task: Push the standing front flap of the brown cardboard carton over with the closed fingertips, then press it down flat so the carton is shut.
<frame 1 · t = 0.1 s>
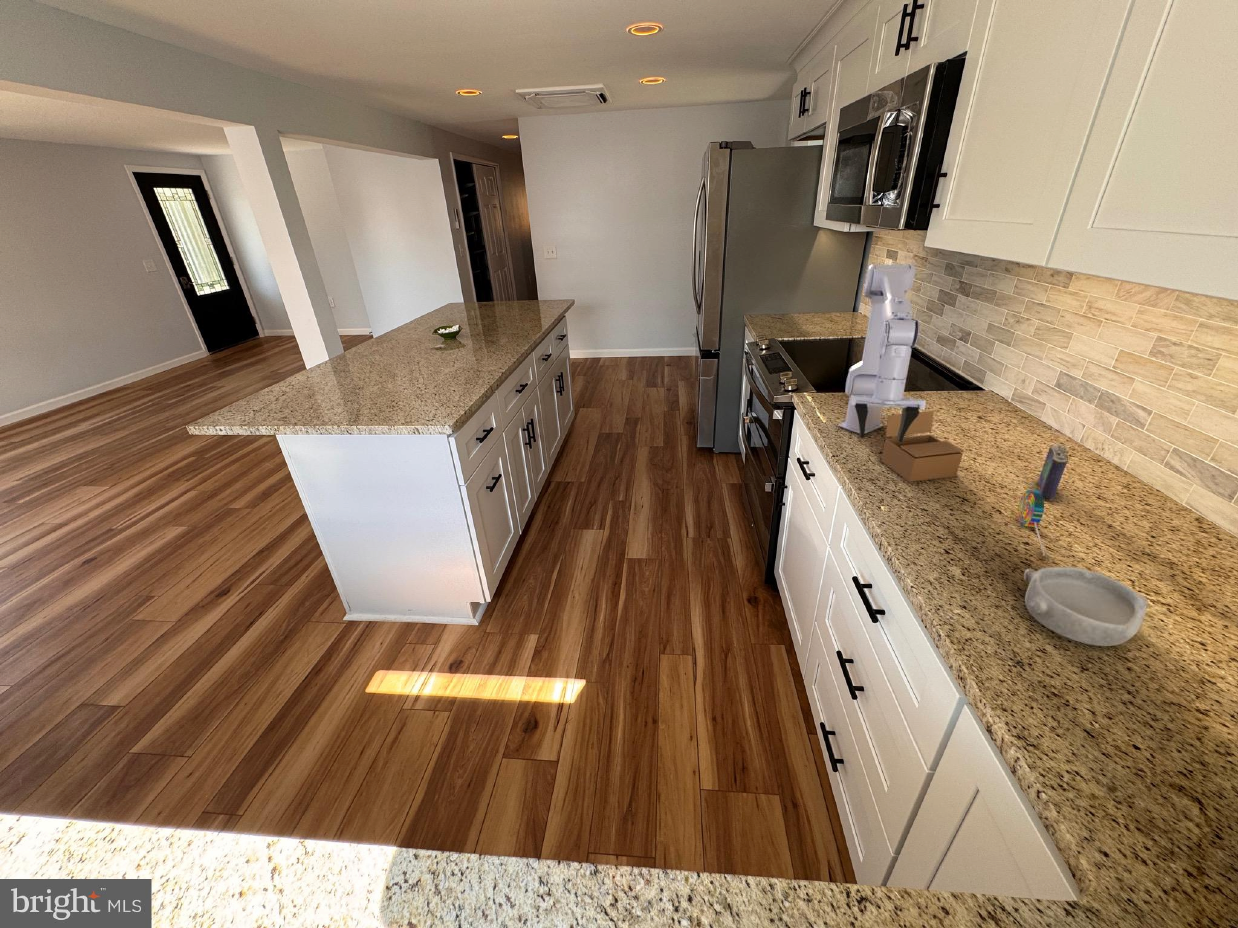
hand: (880, 438, 113), 10 cm above the countertop, tool pointing down, fingers open, 7 cm apart
lollipop: (1030, 534, 97), on the countertop
carton: (917, 468, 122), on the countertop
flap: (909, 423, 123), point 9 cm above the countertop, hinge at 100.0°
dish: (1072, 617, 79), on the countertop
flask: (1045, 491, 111), on the countertop
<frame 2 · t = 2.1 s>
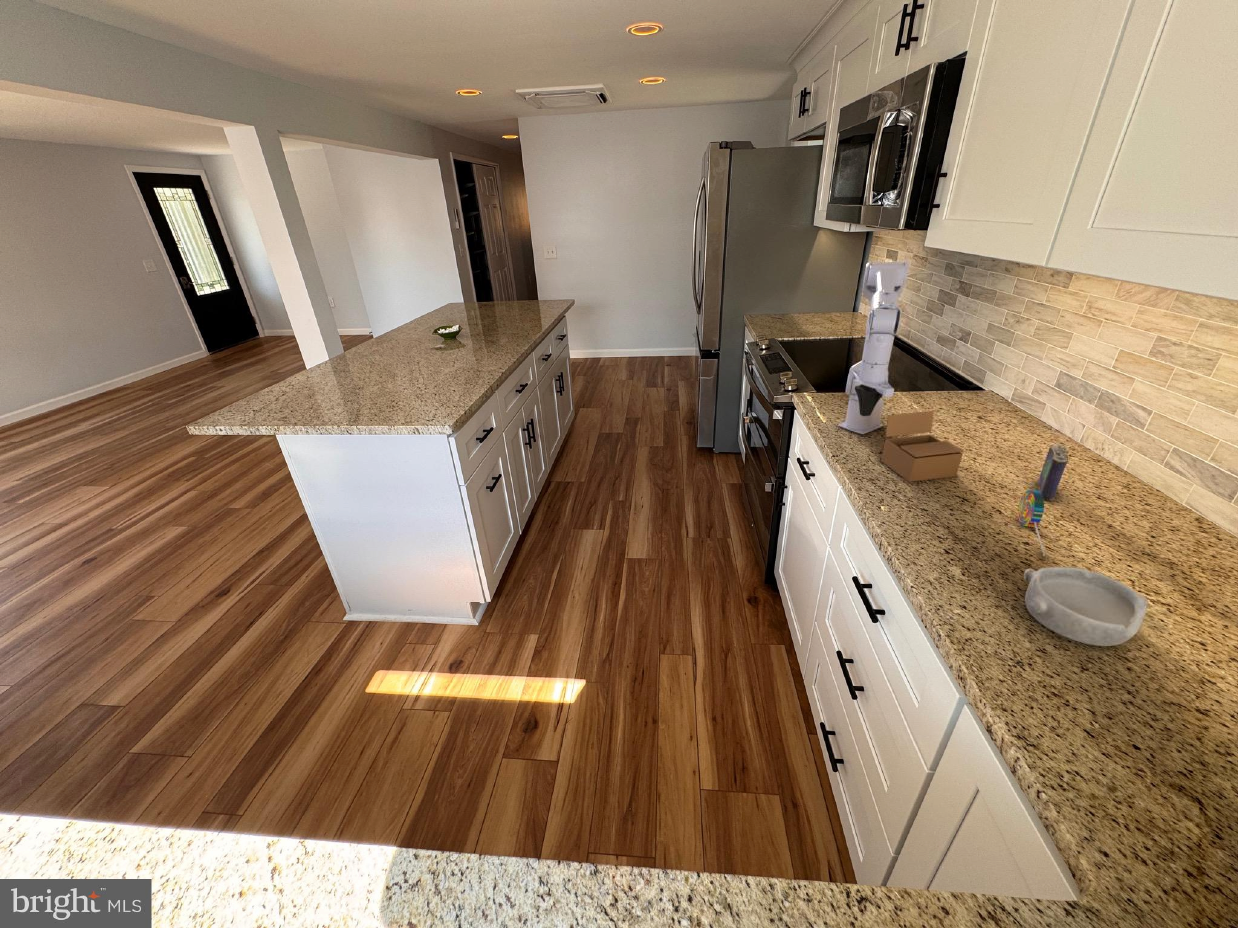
hand: (865, 415, 126), 10 cm above the countertop, tool pointing down, fingers closed
nothing on the countertop moved.
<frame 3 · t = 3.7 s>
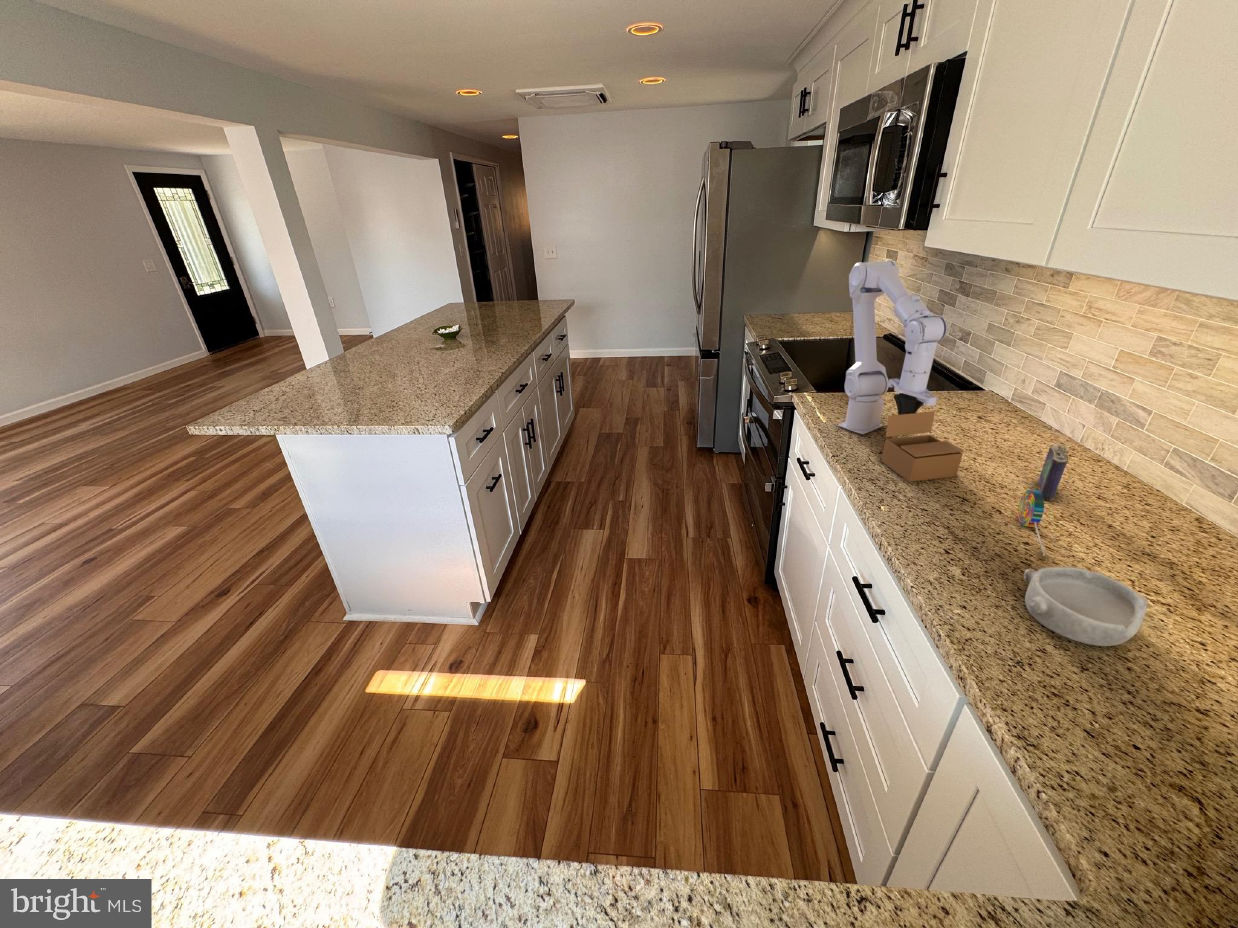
hand: (903, 423, 125), 8 cm above the countertop, tool pointing down, fingers closed
flap: (910, 424, 123), point 9 cm above the countertop, hinge at 96.0°, touching gripper
everything else where it was.
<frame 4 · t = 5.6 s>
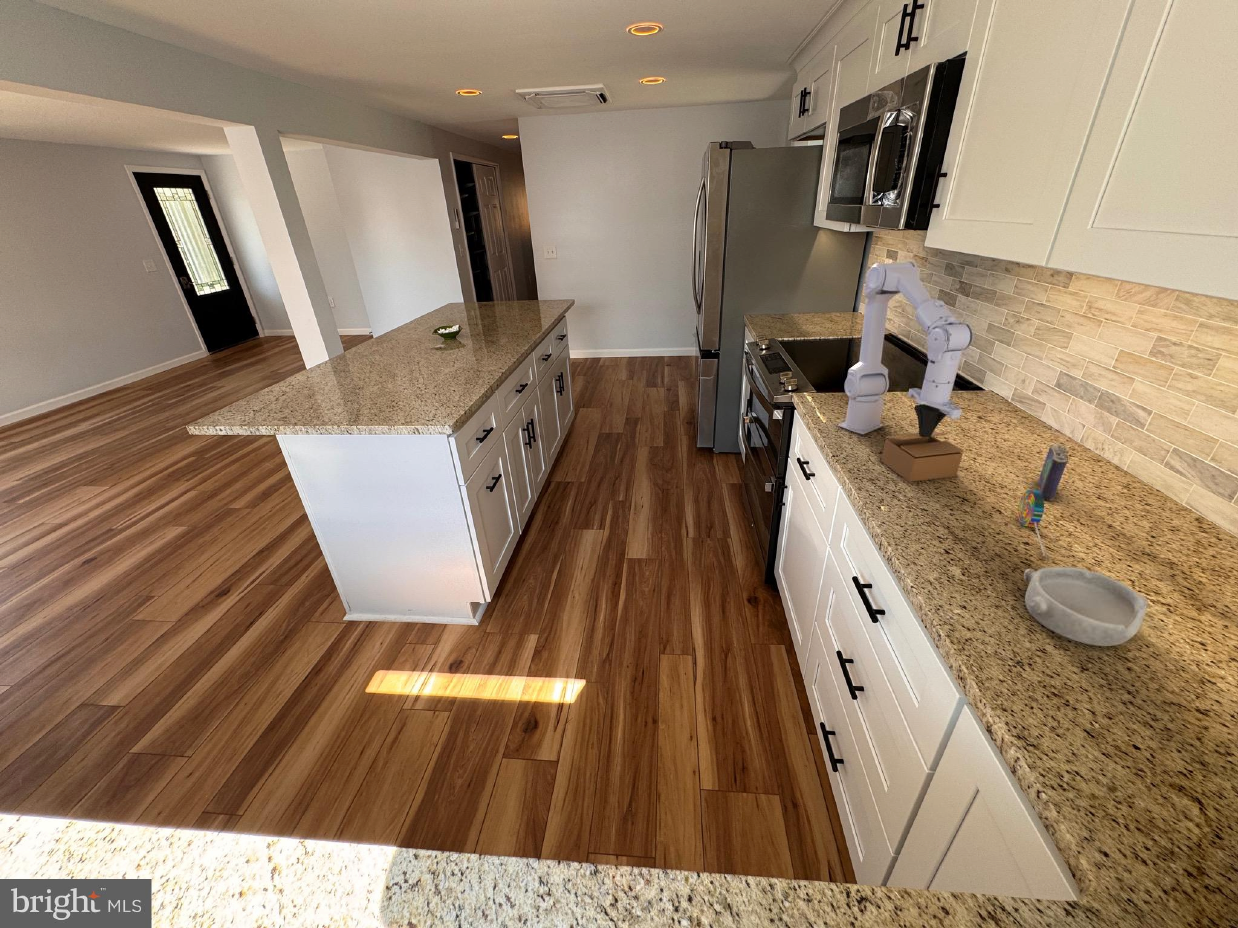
hand: (924, 436, 118), 8 cm above the countertop, tool pointing down, fingers closed
flap: (916, 435, 121), point 7 cm above the countertop, hinge at 19.1°
everything else where it was.
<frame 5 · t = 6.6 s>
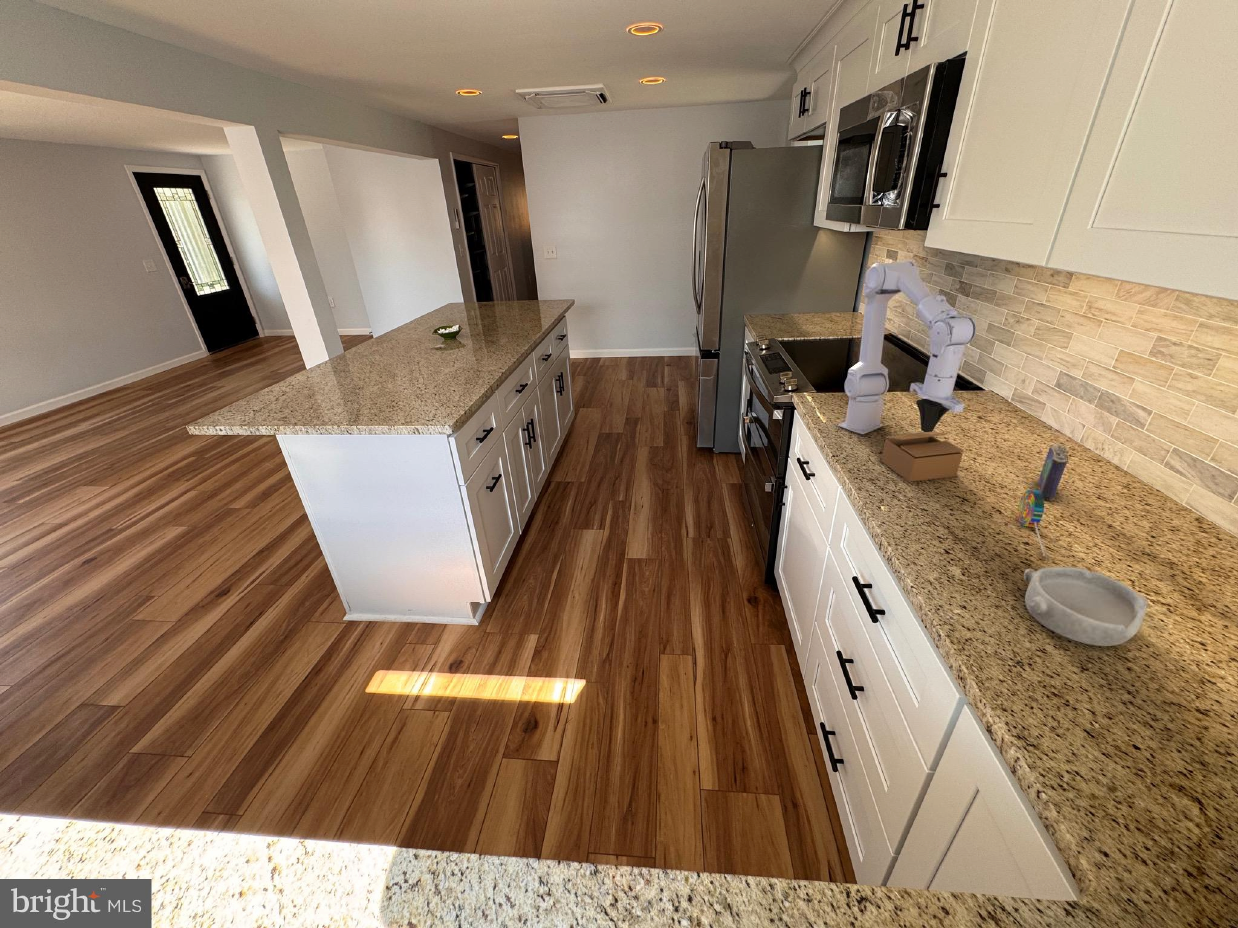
hand: (926, 430, 117), 10 cm above the countertop, tool pointing down, fingers closed
nothing on the countertop moved.
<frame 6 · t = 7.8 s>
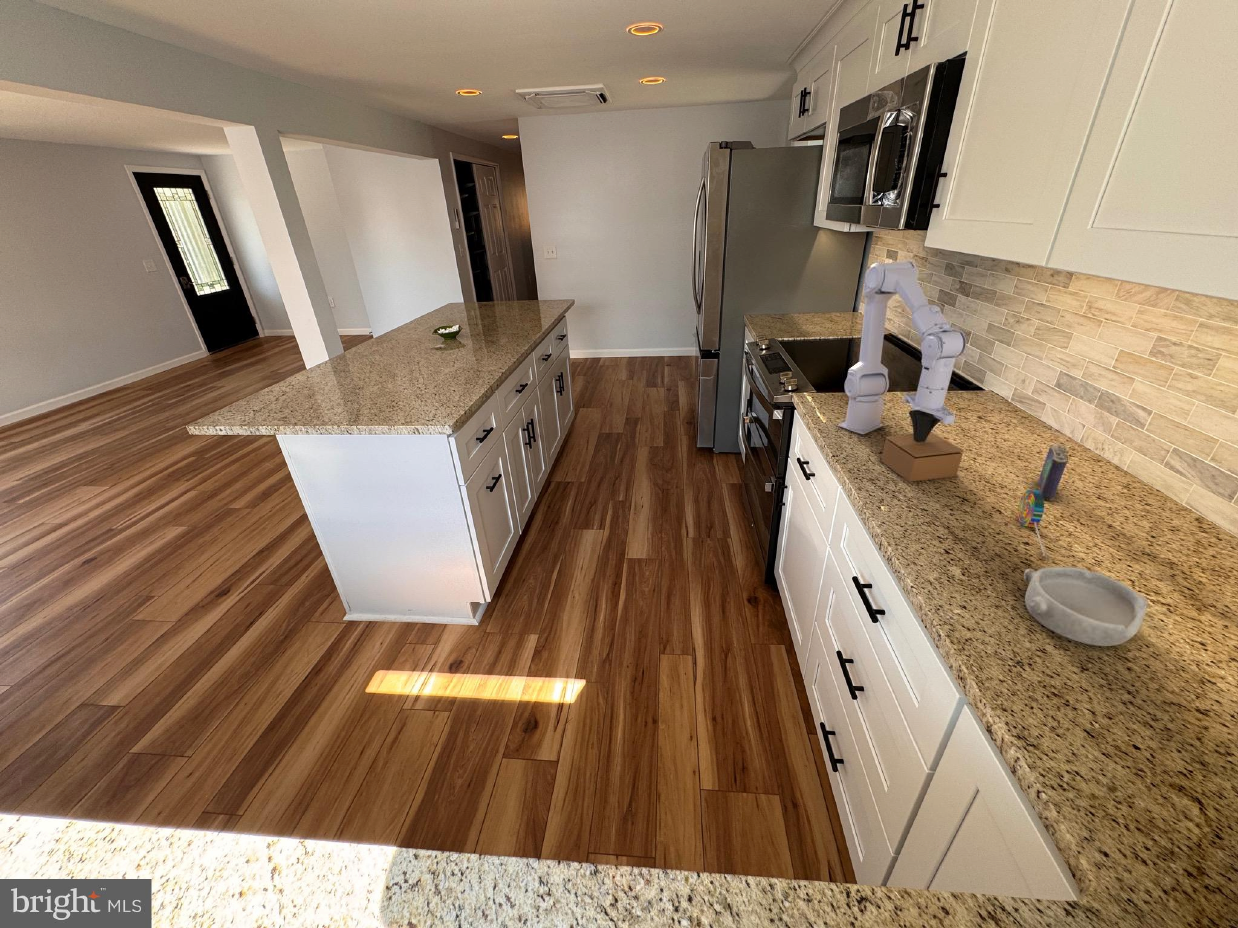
hand: (919, 440, 120), 7 cm above the countertop, tool pointing down, fingers closed, pressing on flap
flap: (915, 439, 121), point 6 cm above the countertop, hinge at -0.7°, touching gripper
everything else where it was.
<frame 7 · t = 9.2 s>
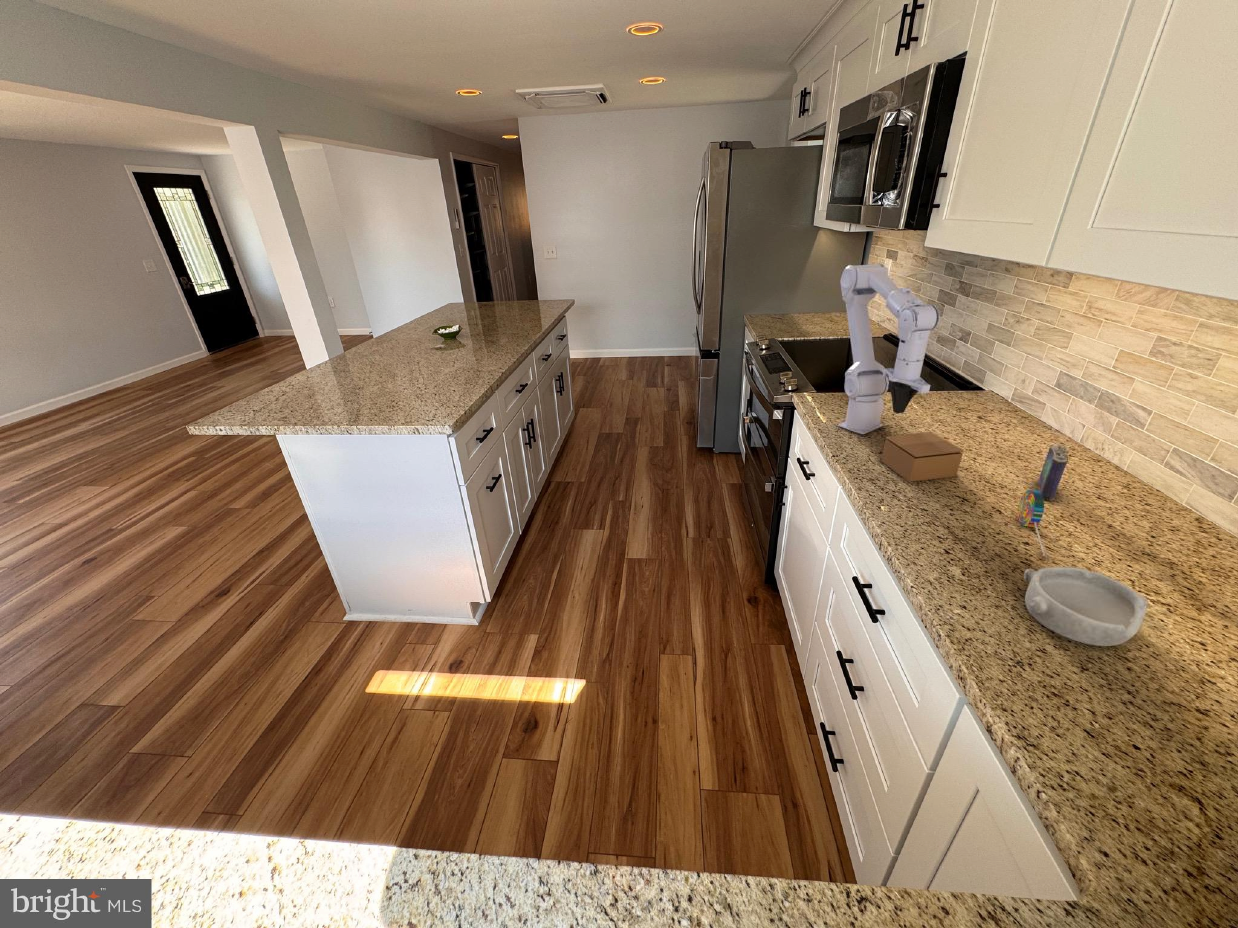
hand: (898, 412, 126), 10 cm above the countertop, tool pointing down, fingers closed
flap: (915, 439, 121), point 6 cm above the countertop, hinge at -0.7°
everything else where it was.
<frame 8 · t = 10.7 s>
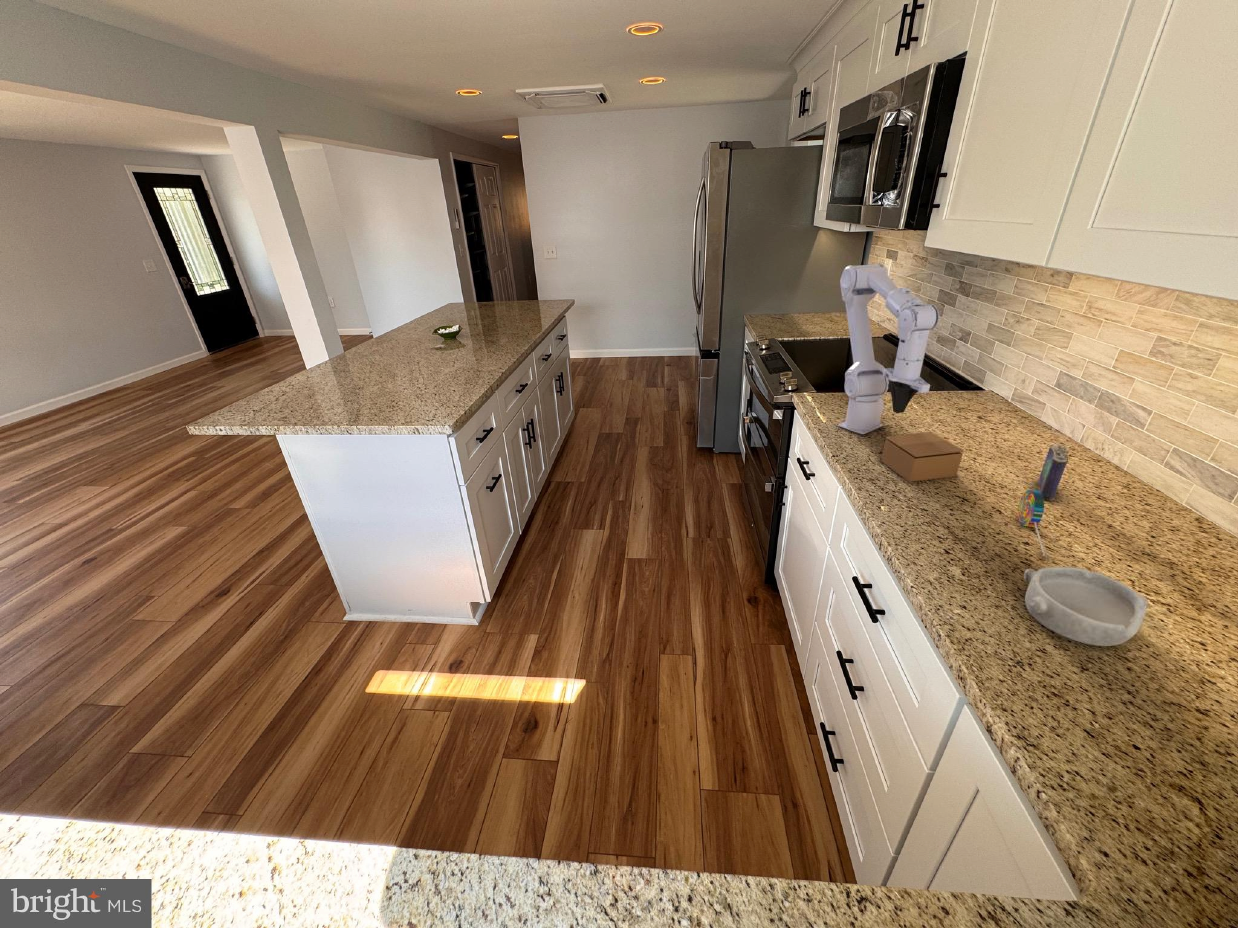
hand: (898, 412, 126), 10 cm above the countertop, tool pointing down, fingers closed
nothing on the countertop moved.
at the end: flap at -1° (first picture: +100°) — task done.
